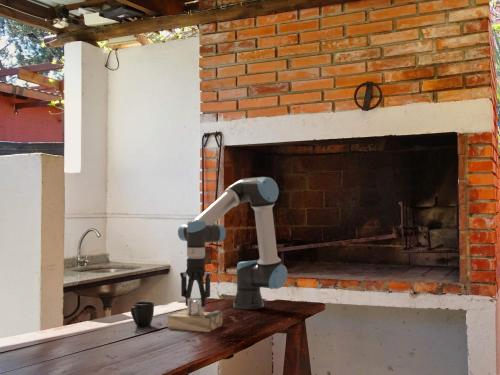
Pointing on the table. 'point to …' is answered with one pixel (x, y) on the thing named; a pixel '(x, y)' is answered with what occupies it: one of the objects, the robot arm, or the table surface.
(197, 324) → the block
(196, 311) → the cylinder
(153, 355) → the table surface
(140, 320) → the mug
